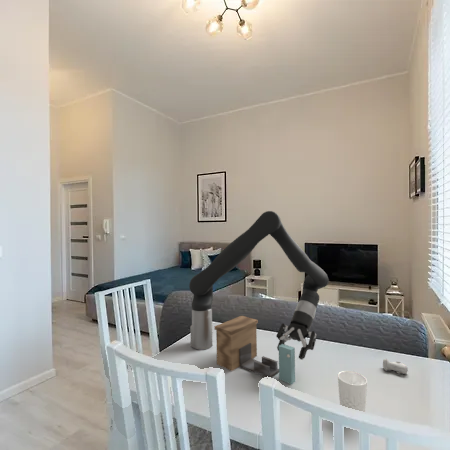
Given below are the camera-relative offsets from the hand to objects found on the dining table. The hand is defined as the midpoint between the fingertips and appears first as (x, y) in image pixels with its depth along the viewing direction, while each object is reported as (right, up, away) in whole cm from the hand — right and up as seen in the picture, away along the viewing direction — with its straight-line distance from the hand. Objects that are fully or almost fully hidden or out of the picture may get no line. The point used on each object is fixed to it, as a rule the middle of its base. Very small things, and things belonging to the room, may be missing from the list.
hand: (289, 354), depth 103 cm
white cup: (+15, -9, -18) cm, 25 cm away
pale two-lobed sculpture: (+40, -8, +4) cm, 41 cm away
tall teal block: (-1, -8, -1) cm, 9 cm away
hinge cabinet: (-13, -8, +10) cm, 18 cm away
